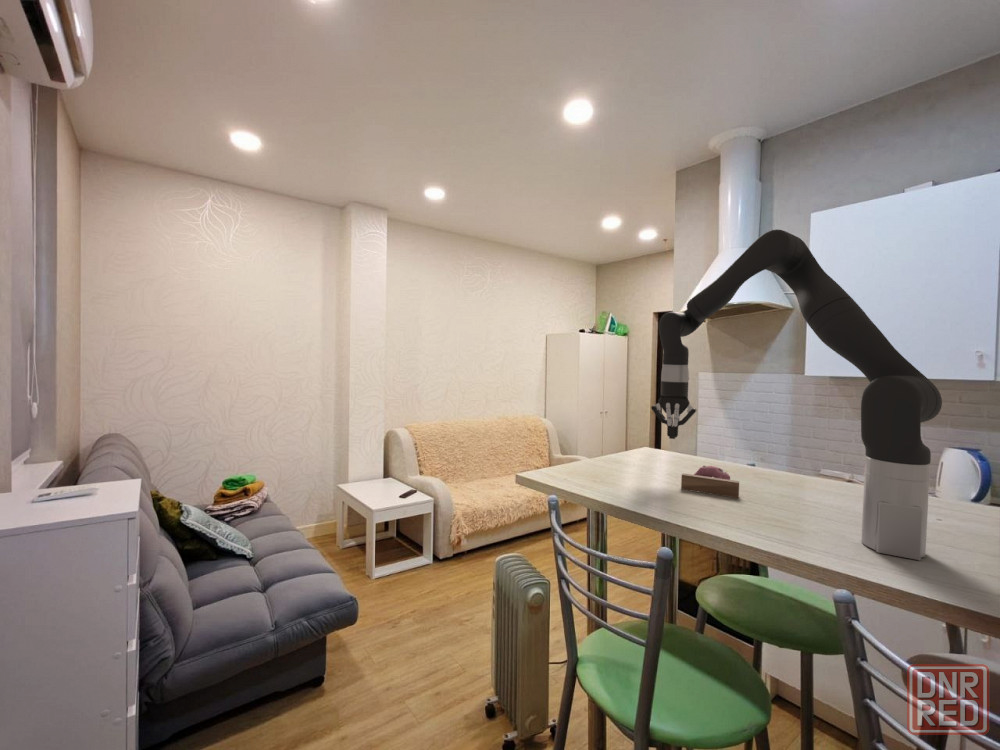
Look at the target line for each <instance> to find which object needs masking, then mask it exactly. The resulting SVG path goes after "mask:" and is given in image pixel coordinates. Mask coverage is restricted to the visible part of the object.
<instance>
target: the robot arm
mask: <svg viewBox="0 0 1000 750" xmlns="http://www.w3.org/2000/svg"><path fill="white" fill-rule="evenodd" d="M765 270H766V271H768V272H772V273H774V274H775V275H776V276H778V277H779V278H780V279H781V280H782V281H783V282H784V283H785V284H786V285H787V286H788V287H789V288H790V290H792V292H793V294H795V297H796V299H797V304H798V306H799V310H800V313H801V315H802V317H803V319H804V321H805V322H806V323H807V325H808V326H809V327H810V329H811V331H813V333H814V334H815V335H816V336H817V337H818V339H819V340H820V341H821V342H822V343H823V344H824V345H825V346H827V348H829V349H831V350H832V351H834V352H835V353H836V354H837V355H839V356H840V357H841V358H844V359H845V360H846V361H848V362H849V363H851V364H852V365H853V366H855V368H856V369H858V370H859V371H860V372H861V373H862V374H863V375H864V376H865V378H866V379H867V380H868V381H869V383H868V384H867V385H866V386H865V388H864V389H863V393H862V395H861V401H860V402H861V403H860V432H861V434H860V435H861V440H862V443H863V445H864V448H865V456H864V457H865V458H864V473H863V474H864V478H863V498H862V499H863V500H862V518H861V519H862V523H861V543H862V544H863V545H865V547H869V548H870V549H872V550H874V551H875V552H876V553H879V554H883V555H888V556H889V555H890V556H895V557H899V558H900V557H901V558H907V559H911V560H918V561H922V558H924V557H925V556H926V552H927V551H926V550H927V534H928V533H927V530H928V512H929V493H930V492H929V491H930V478H931V477H930V474H931V460H932V459H931V455H932V453H931V452H932V451H931V449H930V448H929V447H928V446H927V445H925V444H924V442H923V440H922V434H921V431H922V430H921V428H922V427H921V426H922V425H921V423H925V422H928V421H930V420H933V419H935V417H937V416H938V415H939V413H940V411H941V409H942V408H943V407H942V406H943V400H942V395H941V393H940V391H939V389H938V387H937V386H936V385H935V384H934V383H933V382H932V381H931V380H930V379H929V378H927V377H926V375H924V373H923V372H921V371H920V370H919V369H918V368H917V367H915V366H914V365H913V364H912V363H911V362H910V361H909V360H908V359H906V358H905V357H904V356H903V355H902V354H901V353H900V352H899V351H898V350H897V349H896V348H895V347H894V345H892V343H891V342H890V341H889V339H888V338H887V337H886V336H885V334H884V333H883V332H882V331H881V329H879V328H878V326H876V324H875V323H874V322H873V321H872V320H871V319H870V317H869V316H868V315H867V313H866V312H865V311H864V309H862V307H860V305H859V304H858V303H857V302H856V300H855V299H853V297H851V295H850V294H849V293H848V292H847V291H845V290H844V288H843V287H842V286H841V285H840V284H838V282H836V281H835V280H834V279H833V278H832V277H831V276H830V275H829V274H828V273H827V272H826V271H824V269H823V268H822V266H821V265H820V264H819V263H818V261H817V259H816V258H815V256H814V255H813V253H812V251H811V250H810V248H809V247H808V245H807V244H806V243H805V241H804V240H803V239H802V238H800V237H798V236H797V235H794V234H792V233H790V232H788V231H785V230H782V229H772V230H769V231H766V232H765V233H763V234H761V235H760V236H759V237H758V238H757V239H756V240H755V241H754V242H753V243H751V244H750V245H749V246H748V247H747V248H746V250H745V251H743V252H742V254H741V255H740V256H738V258H737V259H735V261H733V263H732V264H731V265H729V267H728V268H727V269H726V270H725V271H724V272H723V273H722V274H721V275H719V276H718V277H717V278H716V279H715V280H714V281H713V282H711V283H710V284H709V285H708V286H706V287H705V288H704V289H702V290H701V291H700V292H698V293H696V294H695V295H694V296H692V298H691V299H689V300H688V302H687V303H686V310H684V311H683V312H677V311H668V312H666V313H663V315H662V316H661V317H660V319H659V323H658V332H659V333H658V335H659V338H660V342H661V343H660V344H661V347H662V351H663V352H662V368H661V375H660V379H661V380H660V398H659V399H658V403H655V404H654V405H652V406H651V407H650V408H651V410H652V412H653V413H654V414H655V416H656V417H657V419H658V420H659V421H660V423H662V424H664V425H666V426H667V430H666V432H667V433H666V434H667V437H668V439H670V440H671V439H672V440H676V438H677V437H678V436H679V427H680V426H683V425H685V424H686V423H687V422H688V421H689V420H690V419H691V418H692V417H693V416H694V415H695V413H697V408H695V407H693V406H692V404H691V405H690V401H689V380H690V372H689V370H690V369H689V348H688V346H687V345H684V344H683V342H682V337H683V338H685V337H687V336H689V335H691V334H693V333H694V332H695V331H696V330H698V328H699V327H700V326H701V325H702V324H703V323H704V322H705V321H706V320H707V319H708V318H710V317H712V316H713V315H714V314H715V313H716V312H718V311H720V310H721V309H723V308H724V307H725V306H726V305H727V304H729V303H730V301H731V300H732V299H733V298H734V297H735V295H736V293H737V292H738V291H739V289H740V288H741V286H743V284H744V283H745V282H747V281H748V280H749V279H751V278H752V277H754V276H756V275H757V274H759V273H760V272H762V271H765ZM661 409H662V411H664V413H665V414H666V415H665V416H666V417H665V416H664V414H663V413H662V411H661ZM686 409H687V410H686ZM685 411H686V415H685V416H684V417H683V418H682V419H681V420H680V418H681V415H682V414H683V413H684V412H685Z"/></svg>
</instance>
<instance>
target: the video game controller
mask: <svg viewBox="0 0 1000 750" xmlns="http://www.w3.org/2000/svg"><path fill="white" fill-rule="evenodd" d="M693 475H699V476H706V477H713V478H720V479H727V480H731V475H730V474H728V473H727V471H725V470H724V469H722V468H720V467H717V466H713V465H709V466H708V465H703V466H702V467H701V466H700V467H699V468H698V470H696V472H694V474H693Z"/></svg>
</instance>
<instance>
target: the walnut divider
mask: <svg viewBox="0 0 1000 750" xmlns="http://www.w3.org/2000/svg"><path fill="white" fill-rule="evenodd" d="M680 483H681V487H680V489H681V490H685V491H690V490H692V492H697V491H699V492H698V493H703V492H705V493H704V494H709V493H711V494H710V495H716V494H717V496H722V495H723V496H724V497H729V496H730V497H731V498H736V499H739V497H740V480H734V479H730V480H727V479H720V478H714V477H706V476H699V475H694V474H692V473H691V474H689V473H684V472H683V473H681V482H680ZM723 496H722V497H723ZM730 497H729V498H730Z"/></svg>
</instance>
